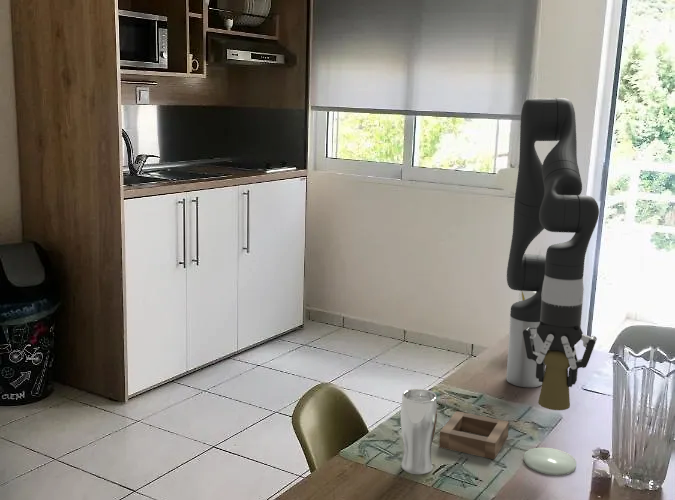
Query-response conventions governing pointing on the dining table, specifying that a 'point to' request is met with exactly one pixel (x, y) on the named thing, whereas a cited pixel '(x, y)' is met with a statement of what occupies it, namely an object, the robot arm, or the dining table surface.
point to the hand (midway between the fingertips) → (555, 382)
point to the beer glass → (418, 429)
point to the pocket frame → (470, 442)
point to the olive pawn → (555, 381)
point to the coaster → (549, 461)
